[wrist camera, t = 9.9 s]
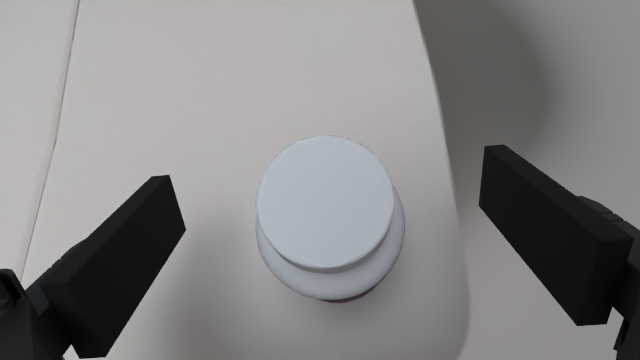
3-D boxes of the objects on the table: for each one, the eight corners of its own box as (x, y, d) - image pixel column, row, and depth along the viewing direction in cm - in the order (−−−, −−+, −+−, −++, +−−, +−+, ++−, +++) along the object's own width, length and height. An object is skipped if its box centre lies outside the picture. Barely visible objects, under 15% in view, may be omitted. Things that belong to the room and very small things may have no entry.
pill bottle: (397, 216, 20) (438, 135, 10) (374, 316, 18) (399, 325, 9) (303, 192, 20) (266, 98, 11) (273, 285, 19) (201, 264, 10)
